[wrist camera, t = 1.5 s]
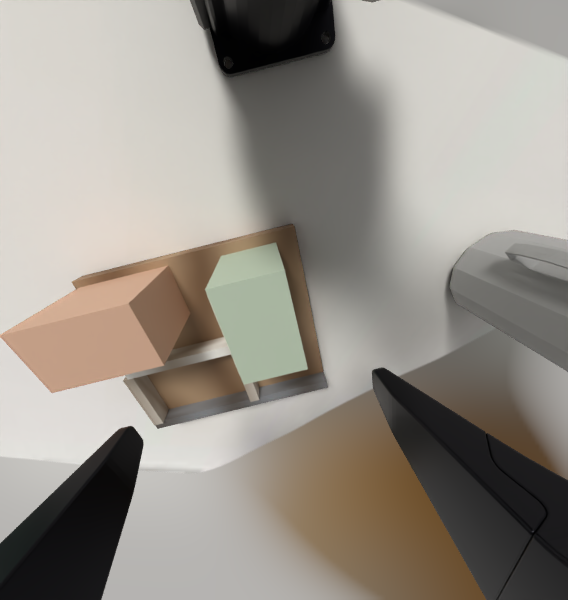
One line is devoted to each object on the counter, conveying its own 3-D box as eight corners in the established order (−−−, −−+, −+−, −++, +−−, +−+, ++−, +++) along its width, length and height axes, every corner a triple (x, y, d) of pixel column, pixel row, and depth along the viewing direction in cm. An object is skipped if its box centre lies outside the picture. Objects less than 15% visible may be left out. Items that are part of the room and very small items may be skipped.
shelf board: (292, 223, 18) (297, 230, 16) (321, 370, 24) (328, 390, 22) (82, 276, 18) (55, 290, 16) (167, 407, 25) (157, 432, 22)
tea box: (276, 242, 17) (284, 269, 12) (294, 319, 20) (307, 369, 15) (219, 256, 17) (201, 290, 12) (245, 331, 20) (241, 385, 15)
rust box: (79, 287, 17) (-1, 335, 12) (168, 265, 17) (128, 303, 12) (110, 334, 19) (53, 394, 14) (191, 315, 19) (165, 367, 14)
